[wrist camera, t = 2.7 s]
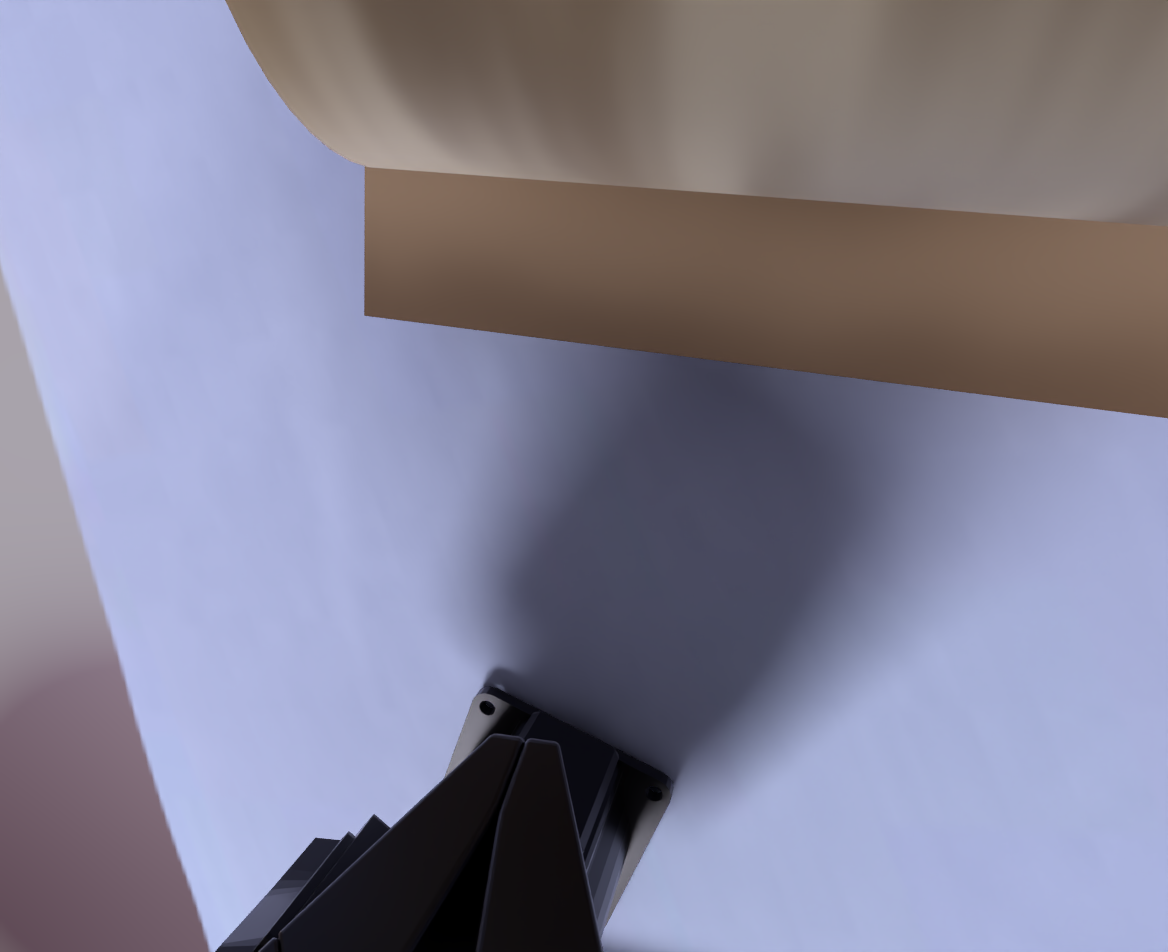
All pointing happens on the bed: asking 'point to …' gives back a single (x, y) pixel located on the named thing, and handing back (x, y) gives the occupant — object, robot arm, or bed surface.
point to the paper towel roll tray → (783, 283)
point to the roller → (746, 96)
